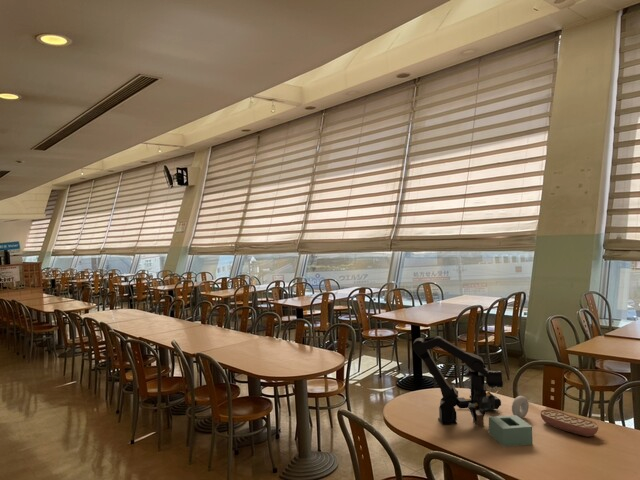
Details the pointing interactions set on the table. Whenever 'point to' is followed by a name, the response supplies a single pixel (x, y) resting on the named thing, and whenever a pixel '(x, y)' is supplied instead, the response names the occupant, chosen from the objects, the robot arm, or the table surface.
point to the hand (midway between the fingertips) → (478, 421)
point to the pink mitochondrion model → (569, 423)
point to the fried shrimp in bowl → (491, 405)
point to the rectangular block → (479, 419)
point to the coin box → (510, 430)
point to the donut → (519, 410)
